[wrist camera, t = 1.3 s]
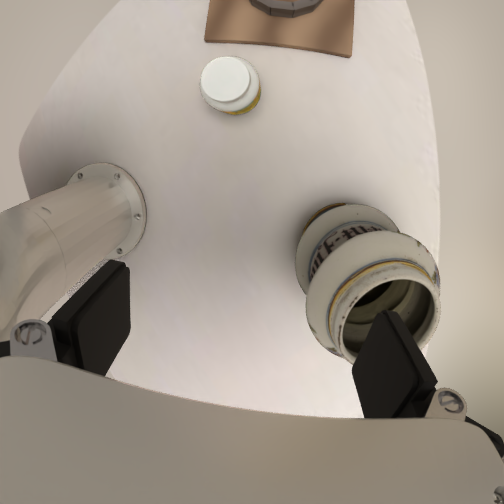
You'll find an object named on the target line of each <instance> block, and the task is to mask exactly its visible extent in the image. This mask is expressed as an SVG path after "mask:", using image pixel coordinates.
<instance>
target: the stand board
mask: <svg viewBox="0 0 504 504" xmlns="http://www.w3.org/2000/svg"><path fill="white" fill-rule="evenodd" d="M354 1H355V0H210V4H209V10H208V17H207V23H206V30H205V38H204V40H205V41H206V42H213V43H242V44H257V45H268V46H278V47H287V48H295V49H302V50H308V51H315V52H320V53H326V54H331V55H336V56H341V57H346V58H350V57H351V56H352V44H353V27H354Z"/></svg>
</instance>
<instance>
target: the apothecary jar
mask: <svg viewBox="0 0 504 504" xmlns="http://www.w3.org/2000/svg"><path fill="white" fill-rule="evenodd" d="M295 269H296V275H297V279H298V282H299V284H300V286H301V288H302V290H303V291H304V293H305V294H306V295H307V297H306V316H307V320H308V324H309V326H310V329H311V331H312V333H313V335H314V336H315V338H316V339H317V340H318V342H319V343H320V344H321V345H322V346H323V347H324V348H325V349H327V350H328V351H329V352H331V353H333V354H335V355H337V356H339V357H341V358H344V359H346V360H347V361H348V362H349V363H351V364H352V365H353V364H354V362H355V360H356V358H357V356H358V354H359V352H360V350H361V347H362V345H363V343H364V341H365V339H366V337H367V335H368V332H369V330H370V328H371V326H372V323H373V321H374V319H375V316H376V315H377V314H378V313H381V311H382V310H388V311H395V312H397V313H398V314H399V315H400V317H401V319H402V320H403V322H404V324H405V325H406V327H407V328H408V330H409V332H410V333H411V335H412V337H413V338H414V340H415V342H416V344H417V345H418V347H419V349H420V350H422V349H423V348H424V346H425V345H426V344H427V343H428V342H429V340H430V339H431V337H432V336H433V334H434V332H435V331H436V328H437V326H438V323H439V319H440V312H441V305H440V299H439V296H440V277H439V271H438V268H437V265H436V263H435V260H434V259H433V257H432V255H431V254H430V252H429V251H428V250H427V249H426V247H425V246H423V245H422V244H421V243H420V242H419V241H417V240H416V239H414V238H412V237H410V236H408V235H406V234H403V233H400V231H399V230H398V228H397V226H396V225H395V224H394V222H393V221H392V220H391V219H390V218H389V217H388V216H386V215H385V214H384V213H382V212H381V211H379V210H377V209H375V208H373V207H369V206H365V205H357V204H351V205H346V204H345V203H338V204H332V205H329V206H326V207H324V208H323V209H321V210H320V211H318V212H317V213H316V214H315V215H314V216H313V217H312V218H311V219H310V220H309V221H308V223H307V224H306V226H305V228H304V231H303V234H302V238H301V240H300V242H299V244H298V247H297V251H296V257H295Z"/></svg>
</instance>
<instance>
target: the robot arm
mask: <svg viewBox="0 0 504 504" xmlns="http://www.w3.org/2000/svg"><path fill="white" fill-rule="evenodd" d="M119 174H120V177H119ZM139 214H140V215H141V216H139ZM145 224H146V208H145V202H144V199H143V195H142V193H141V191H140V189H139V187H138V185H137V184H136V182H135V181H134V180H133V178H132V177H131V176H130V175H129V174H128V173H126V172H125V171H124V170H122V169H121V168H119V167H117V166H115V165H112V164H108V163H95V164H91V165H87V166H85V167H83V168H81V169H79V170H78V171H77V172H76V173H74V174H73V176H72V177H71V178H70V179H69V181H68V183H67V185H66V186H64V187H61V188H59V189H56V190H54V191H51V192H48V193H46V194H43V195H41V196H38V197H36V198H33V199H31V200H29V201H26V202H24V203H22V204H19V205H17V206H15V207H12V208H10V209H8V210H6V211H3V212H1V213H0V504H504V443H503V440H502V438H501V437H500V436H499V435H498V434H496V433H494V432H492V431H491V430H489V429H487V428H486V427H484V426H482V425H481V424H479V423H477V422H476V421H474V420H472V419H470V418H469V417H467V416H466V413H467V404H466V402H465V400H464V398H463V397H462V396H461V395H460V394H459V393H458V392H456V391H454V390H452V389H450V388H440V389H438V390H436V388H435V385H436V384H437V382H438V381H437V379H436V377H435V375H434V373H433V372H432V370H431V368H430V366H429V364H428V363H427V361H426V359H425V357H424V356H423V354H422V352H421V350H420V349H419V347H418V345H417V344H416V342H415V340H414V338H413V337H412V335H411V333H410V332H409V330H408V328H407V327H406V325H405V324H404V322H403V320H402V319H401V317H400V315H399V314H398V313H397V312H395V311H388V310H382V311H381V313H378V314H377V315H376V316H375V319H374V321H373V323H372V326H371V328H370V330H369V332H368V335H367V337H366V339H365V341H364V343H363V345H362V347H361V350H360V352H359V354H358V356H357V358H356V360H355V362H354V364H353V367H352V375H353V379H354V382H355V386H356V389H357V393H358V396H359V400H360V403H361V407H362V411H363V414H364V418H333V417H316V416H303V415H292V414H282V413H273V412H265V411H257V410H250V409H243V408H236V407H230V406H224V405H219V404H213V403H208V402H203V401H198V400H193V399H188V398H183V397H179V396H174V395H170V394H166V393H162V392H158V391H154V390H150V389H146V388H142V387H139V386H135V385H132V384H128V383H125V382H121V381H118V380H115V379H111V378H108V377H105V375H106V373H107V371H108V370H109V368H110V366H111V364H112V363H113V361H114V359H115V358H116V356H117V354H118V352H119V351H120V349H121V347H122V346H123V344H124V342H125V341H126V339H127V337H128V335H129V333H130V328H131V322H130V270H129V268H128V267H126V265H125V263H124V262H120V261H115V260H111V259H116V258H119V257H122V256H124V255H126V254H127V253H128V252H130V251H131V250H132V249H133V248H134V247H135V246H136V245H137V243H138V242H139V240H140V239H141V237H142V234H143V232H144V228H145ZM102 259H107V260H109V261H108V262H107V263H106V264H105V265H103V266H102V267H101V268H100V269H99V270H98V271H97V272H96V273H95V274H94V275H93V276H92V277H91V278H90V279H89V280H88V281H87V282H86V283H85V284H84V285H83V286H82V287H81V288H80V289H79V290H78V291H77V292H76V293H75V294H74V295H73V296H72V297H71V298H70V299H69V300H68V301H67V302H66V303H65V304H64V305H63V306H62V307H61V308H60V309H59V310H58V311H57V312H56V313H55V314H54V315H53V316H52V319H51V320H50V321H49V322H48V323H46V322H44V321H42V320H40V319H41V317H43V315H44V314H45V313H46V312H47V311H48V310H49V309H50V308H51V307H52V306H53V305H54V304H55V303H56V302H57V301H58V300H59V299H60V298H61V297H63V296H64V295H65V294H66V293H67V292H68V291H69V290H70V289H71V288H72V287H73V286H74V285H75V284H76V283H77V282H78V281H79V280H80V279H81V278H82V277H84V276H85V275H86V274H87V273H88V272H89V271H90V270H91V269H92V268H93V267H94V266H96V265H97V264H98V263H99V262H100V261H101V260H102Z"/></svg>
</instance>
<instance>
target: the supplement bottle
mask: <svg viewBox="0 0 504 504" xmlns="http://www.w3.org/2000/svg"><path fill="white" fill-rule="evenodd" d="M200 91H201V94H202V96H203V98H204V100H205V101H206V102H207V103H208V104H209V105H210V106H212V107H213V108H215V109H217V110H220V111H222V112H225V113H227V114H232V115H239V114H244V113H247V112H249V111H250V110H252V109H253V108H254V107H255V106H256V104H257V103H258V101H259V99H260V94H261V87H260V80H259V76H258V73H257V71H256V69H255V68H254V67H253V66H252V64H250V63H249V62H248V61H246V60H245V59H242V58H240V57H235V56H223V57H219V58H216V59H214V60H212V61H211V62H209V63H208V64H207V65H206V66H205V68H204V69H203V71H202V74H201V79H200Z"/></svg>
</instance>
